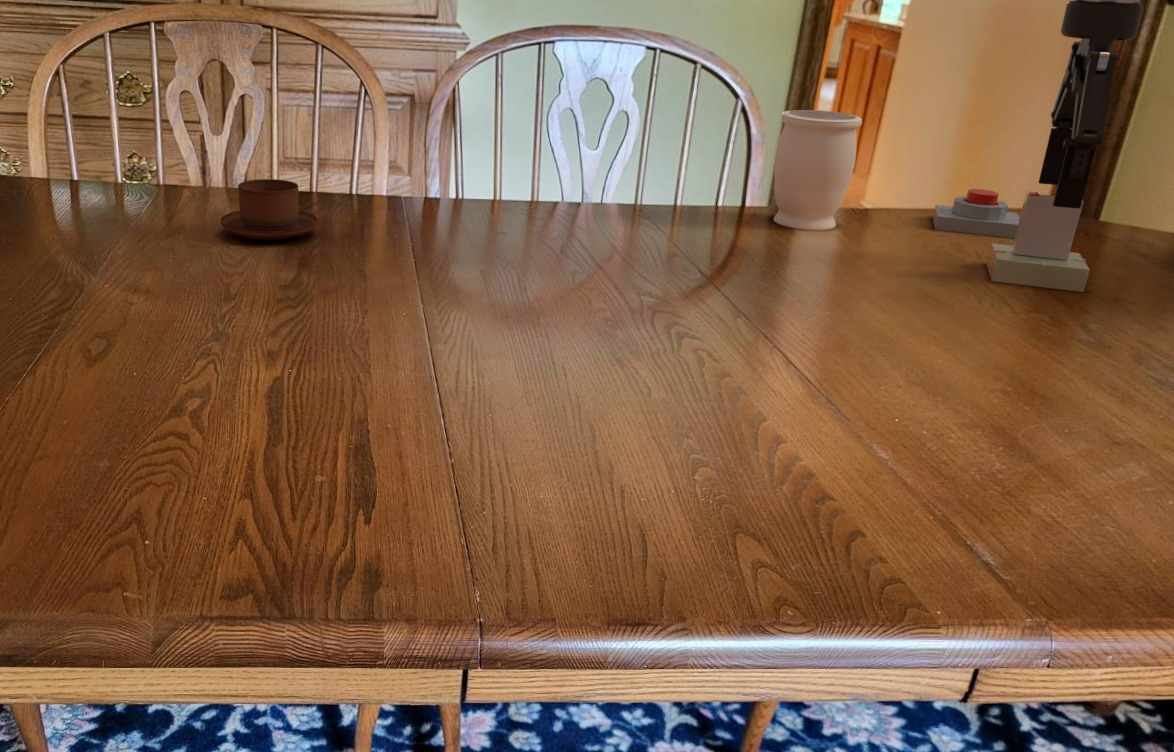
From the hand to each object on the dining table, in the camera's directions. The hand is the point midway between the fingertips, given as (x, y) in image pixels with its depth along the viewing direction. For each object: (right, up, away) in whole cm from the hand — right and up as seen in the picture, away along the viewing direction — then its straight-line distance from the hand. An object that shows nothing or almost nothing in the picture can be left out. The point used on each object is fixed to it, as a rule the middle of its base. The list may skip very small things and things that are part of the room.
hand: (1058, 195), depth 129 cm
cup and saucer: (-94, -3, +10) cm, 95 cm away
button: (+3, +5, +26) cm, 26 cm away
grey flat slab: (-1, -7, +3) cm, 7 cm away
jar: (-22, +2, +26) cm, 34 cm away
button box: (+3, +1, +27) cm, 28 cm away
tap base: (-1, -9, +4) cm, 10 cm away
